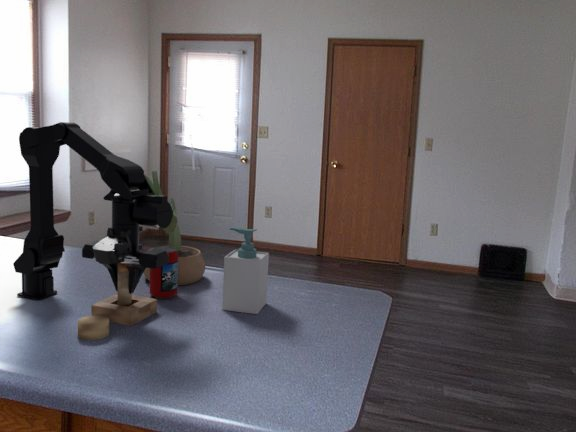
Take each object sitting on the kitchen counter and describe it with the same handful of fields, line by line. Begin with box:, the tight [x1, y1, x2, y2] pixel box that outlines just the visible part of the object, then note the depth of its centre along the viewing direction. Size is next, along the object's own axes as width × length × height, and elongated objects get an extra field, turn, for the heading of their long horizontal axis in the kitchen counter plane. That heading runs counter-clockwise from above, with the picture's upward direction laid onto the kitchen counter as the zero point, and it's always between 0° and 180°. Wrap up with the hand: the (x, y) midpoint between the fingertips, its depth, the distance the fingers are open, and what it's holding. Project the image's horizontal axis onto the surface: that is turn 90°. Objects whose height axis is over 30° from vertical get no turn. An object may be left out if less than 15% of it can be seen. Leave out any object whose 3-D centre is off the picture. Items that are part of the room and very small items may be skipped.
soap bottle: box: [221, 226, 270, 315], centre depth 133 cm, size 9×9×19 cm
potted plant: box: [143, 170, 206, 286], centre depth 150 cm, size 22×18×30 cm
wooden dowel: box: [117, 261, 133, 305], centre depth 123 cm, size 3×3×9 cm
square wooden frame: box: [90, 293, 158, 327], centre depth 124 cm, size 10×10×3 cm
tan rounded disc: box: [77, 315, 110, 341], centre depth 113 cm, size 6×6×3 cm
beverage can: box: [149, 245, 179, 300], centre depth 138 cm, size 7×7×12 cm
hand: (124, 292), depth 123 cm, fingers closed on wooden dowel, 3 cm apart
